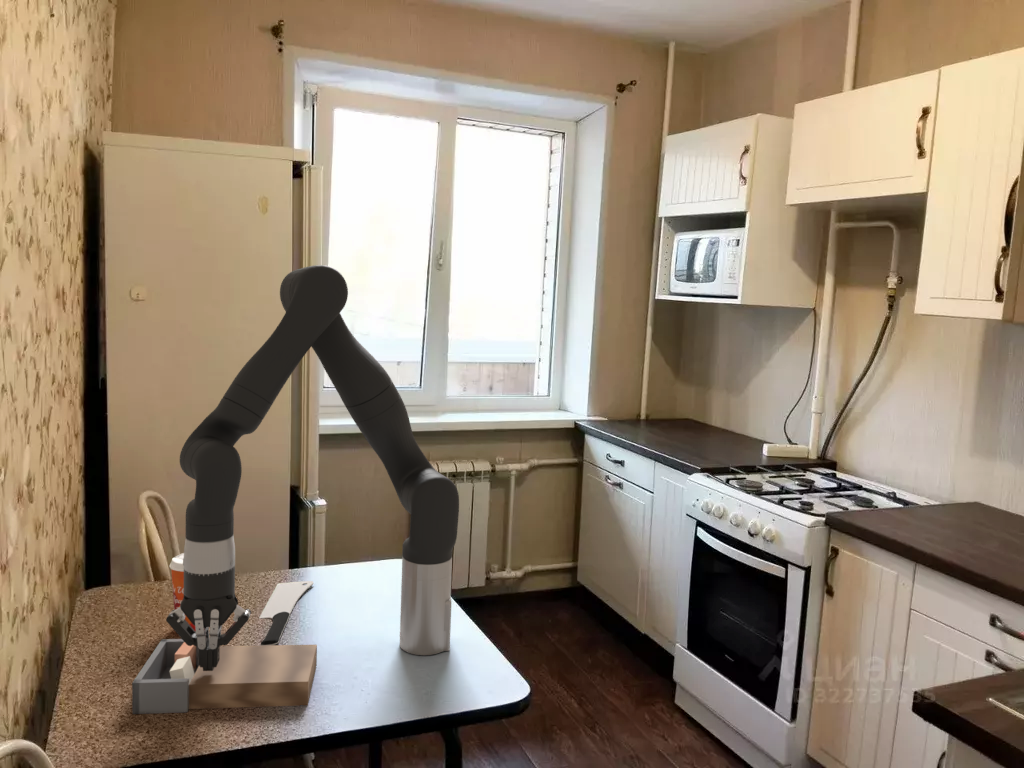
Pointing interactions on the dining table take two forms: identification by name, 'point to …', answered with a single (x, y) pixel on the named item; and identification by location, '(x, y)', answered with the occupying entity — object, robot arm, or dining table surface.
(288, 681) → the walnut board
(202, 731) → the dining table surface
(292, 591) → the kitchen cleaver
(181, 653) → the terracotta tile
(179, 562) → the paper cup
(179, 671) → the cream block
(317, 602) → the dining table surface
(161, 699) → the box
